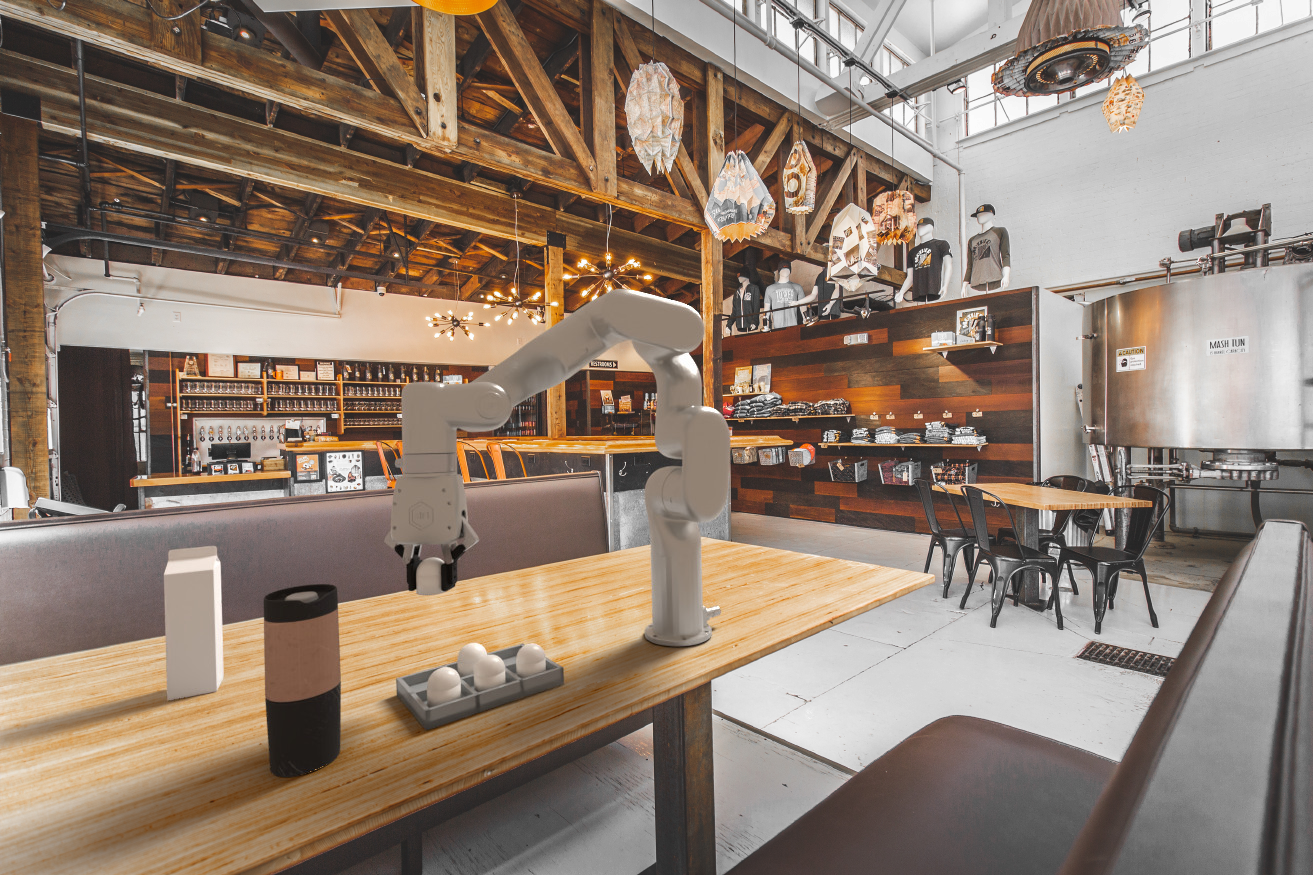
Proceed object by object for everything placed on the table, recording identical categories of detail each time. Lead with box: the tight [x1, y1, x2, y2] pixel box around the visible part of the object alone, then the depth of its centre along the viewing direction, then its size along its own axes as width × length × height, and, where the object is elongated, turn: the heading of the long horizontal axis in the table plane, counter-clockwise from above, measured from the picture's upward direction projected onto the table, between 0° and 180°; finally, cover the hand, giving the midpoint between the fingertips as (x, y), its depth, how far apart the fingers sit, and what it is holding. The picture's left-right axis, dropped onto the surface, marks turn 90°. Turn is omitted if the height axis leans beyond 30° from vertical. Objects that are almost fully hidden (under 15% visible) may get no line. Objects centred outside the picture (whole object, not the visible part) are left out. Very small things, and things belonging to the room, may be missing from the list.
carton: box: [395, 642, 565, 731], centre depth 85 cm, size 20×14×6 cm
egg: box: [415, 556, 448, 596], centre depth 84 cm, size 4×4×5 cm
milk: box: [163, 545, 225, 701], centre depth 88 cm, size 6×6×22 cm
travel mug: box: [263, 583, 342, 778], centre depth 68 cm, size 8×8×20 cm
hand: (432, 587), depth 84 cm, fingers closed on egg, 4 cm apart
